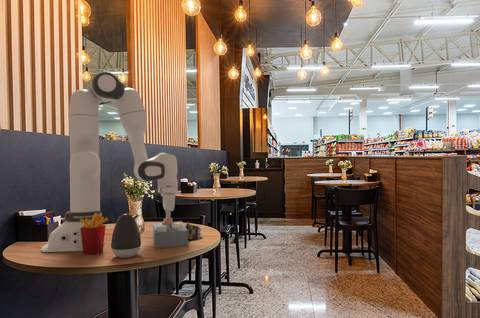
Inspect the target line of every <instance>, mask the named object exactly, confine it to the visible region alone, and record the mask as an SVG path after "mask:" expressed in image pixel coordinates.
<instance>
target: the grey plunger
mask: <svg viewBox="0 0 480 318" xmlns="http://www.w3.org/2000/svg"><path fill="white" fill-rule="evenodd" d="M157 232H167V227H157Z"/></svg>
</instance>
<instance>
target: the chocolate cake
mask: <svg viewBox="0 0 480 318" xmlns="http://www.w3.org/2000/svg"><path fill="white" fill-rule="evenodd" d="M185 227H186V229H187V230H188V241H189V240H194V241H199V240H200V239H202V236H201V235H202V233H201V231H202V228H200V226H199V225H193V224H190V223H189V221H187V223H186V224H185Z"/></svg>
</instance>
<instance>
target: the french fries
mask: <svg viewBox="0 0 480 318" xmlns="http://www.w3.org/2000/svg"><path fill="white" fill-rule="evenodd" d="M96 220H97V222H96ZM108 220H109V218H108V217H104V216H103V215H102V214H101V215H99V214H97V213H95V214H94V215H93V217H92V220H90V219H89V220H88V219H87V218H85V221H84V220H83V219H80V221H81V222H82V223H83V224H84V227H82V228H80V230H81V238H82V246H83V251H82V253H83V255H88V256H89V255H91V256H92V255H93V256H95V255H99V254H100V253H102V252H104V245H105V234H106V227H107V226H106V225H107V224H104V223H105V222H107V221H108ZM87 221H89V222H90V223H91V225H89V224H88V223H87ZM95 223H96V224H95Z"/></svg>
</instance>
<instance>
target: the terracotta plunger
mask: <svg viewBox="0 0 480 318" xmlns="http://www.w3.org/2000/svg"><path fill="white" fill-rule="evenodd" d="M173 222H174V221H173V218H172V217H170V219H166V217H165V218H163V223H164V225H170V224H173Z"/></svg>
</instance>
